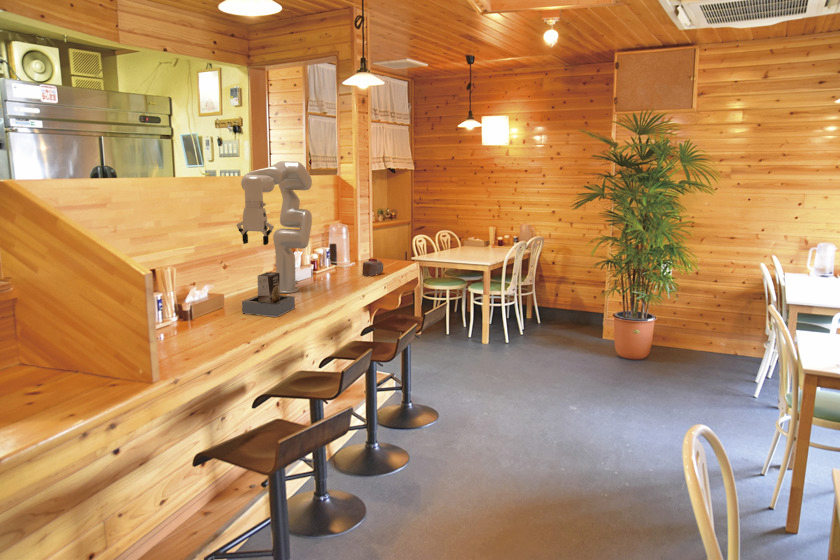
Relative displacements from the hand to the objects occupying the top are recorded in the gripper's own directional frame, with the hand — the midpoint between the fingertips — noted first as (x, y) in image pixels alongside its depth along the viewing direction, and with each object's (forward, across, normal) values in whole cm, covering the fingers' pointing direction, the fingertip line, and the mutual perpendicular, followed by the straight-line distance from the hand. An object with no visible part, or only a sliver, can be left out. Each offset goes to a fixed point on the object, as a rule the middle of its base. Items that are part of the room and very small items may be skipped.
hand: (255, 243), depth 259 cm
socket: (+28, -8, +6) cm, 30 cm away
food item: (+31, -26, -90) cm, 99 cm away
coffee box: (+28, -9, +6) cm, 30 cm away
